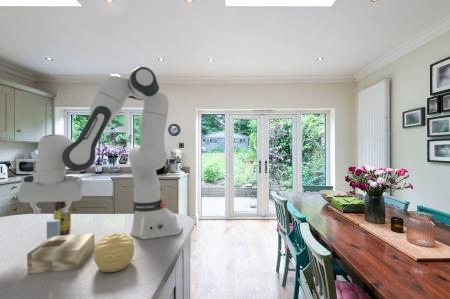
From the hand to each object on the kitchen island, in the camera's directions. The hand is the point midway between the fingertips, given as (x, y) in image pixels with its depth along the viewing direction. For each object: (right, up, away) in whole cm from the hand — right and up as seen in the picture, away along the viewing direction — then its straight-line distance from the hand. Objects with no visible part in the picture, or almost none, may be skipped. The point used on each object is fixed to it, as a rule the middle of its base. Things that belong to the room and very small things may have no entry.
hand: (51, 213), depth 88 cm
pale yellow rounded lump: (+31, -14, -14) cm, 36 cm away
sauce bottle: (-6, -13, +15) cm, 21 cm away
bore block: (+12, -13, -10) cm, 20 cm away
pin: (+1, -13, +1) cm, 13 cm away
